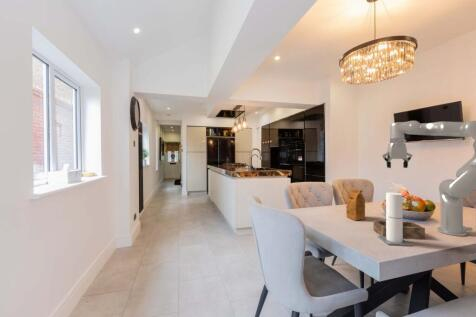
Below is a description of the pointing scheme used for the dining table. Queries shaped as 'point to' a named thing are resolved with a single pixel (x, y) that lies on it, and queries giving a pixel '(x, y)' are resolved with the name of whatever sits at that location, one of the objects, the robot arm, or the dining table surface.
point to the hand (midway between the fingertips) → (397, 167)
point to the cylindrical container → (394, 217)
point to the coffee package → (355, 205)
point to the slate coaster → (394, 242)
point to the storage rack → (408, 229)
